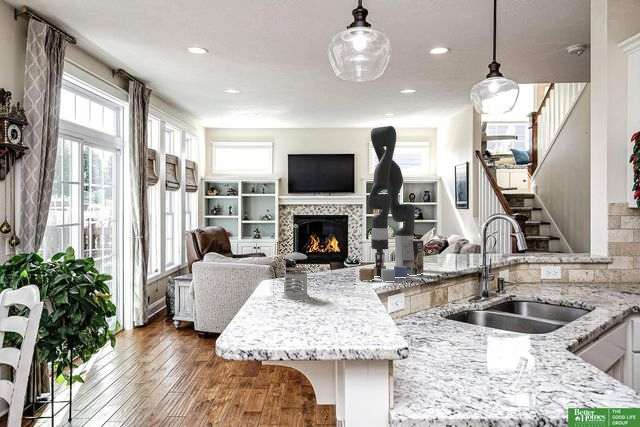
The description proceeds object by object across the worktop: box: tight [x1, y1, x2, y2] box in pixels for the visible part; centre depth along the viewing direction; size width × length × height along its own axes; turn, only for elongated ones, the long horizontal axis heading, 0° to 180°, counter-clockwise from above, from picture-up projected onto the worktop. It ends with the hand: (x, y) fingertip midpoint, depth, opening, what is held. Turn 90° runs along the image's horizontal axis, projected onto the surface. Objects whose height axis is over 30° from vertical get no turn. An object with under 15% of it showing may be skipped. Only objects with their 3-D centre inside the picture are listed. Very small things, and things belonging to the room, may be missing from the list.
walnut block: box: [358, 267, 375, 281], centre depth 191 cm, size 5×5×5 cm
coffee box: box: [403, 239, 425, 275], centre depth 206 cm, size 9×6×16 cm
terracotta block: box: [373, 264, 387, 276], centre depth 201 cm, size 5×5×5 cm
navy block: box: [393, 265, 408, 278], centre depth 199 cm, size 5×5×5 cm
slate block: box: [380, 268, 396, 282], centre depth 189 cm, size 5×5×5 cm
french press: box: [276, 223, 311, 300], centre depth 155 cm, size 10×12×25 cm
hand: (379, 276), depth 201 cm, fingers closed on terracotta block, 5 cm apart
